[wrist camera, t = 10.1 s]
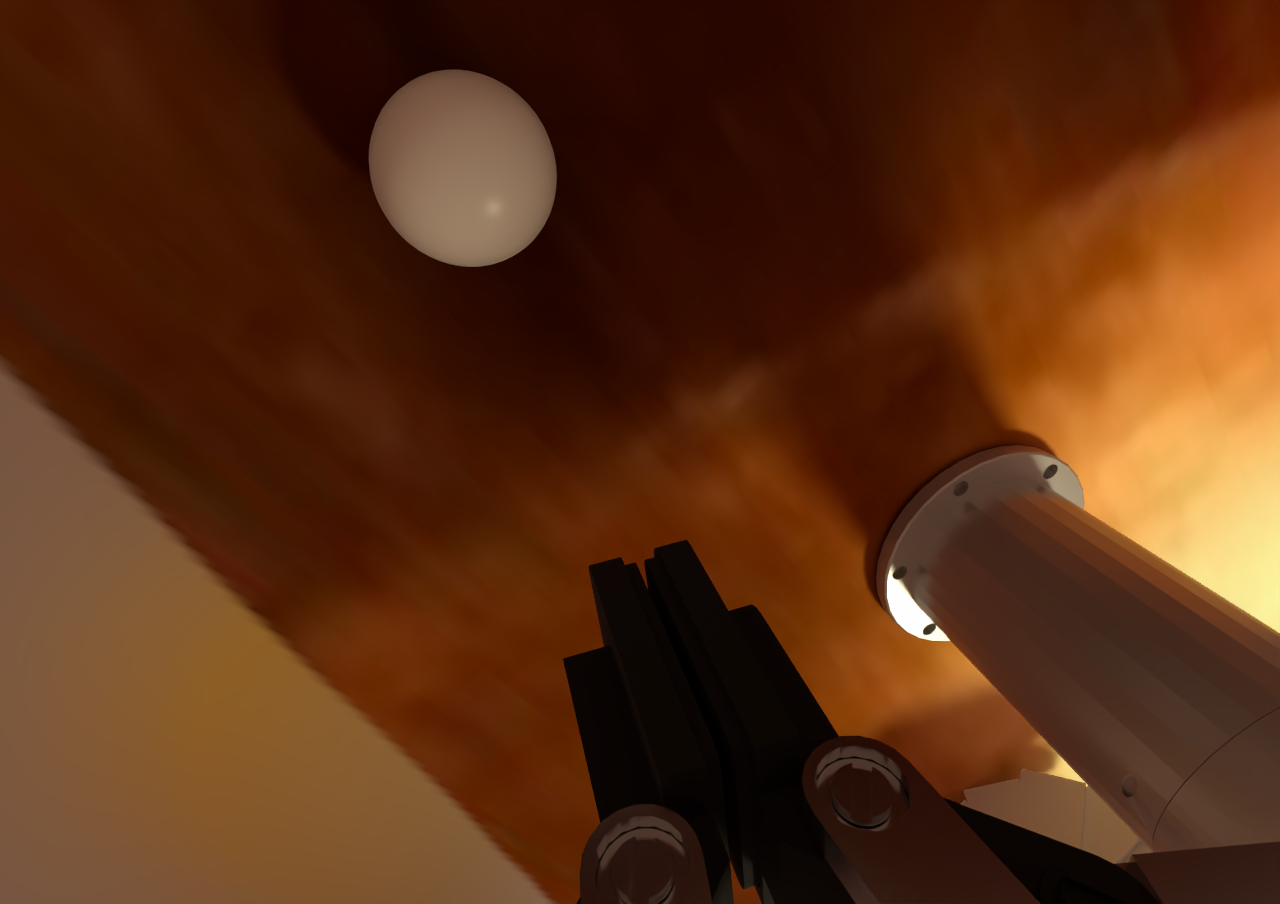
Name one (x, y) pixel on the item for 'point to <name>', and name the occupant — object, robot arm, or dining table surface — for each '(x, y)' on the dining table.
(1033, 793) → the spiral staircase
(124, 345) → the dining table surface
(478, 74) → the cue ball
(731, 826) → the robot arm
